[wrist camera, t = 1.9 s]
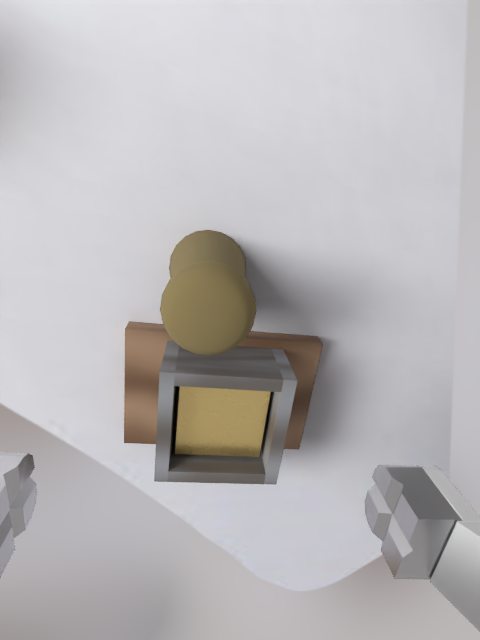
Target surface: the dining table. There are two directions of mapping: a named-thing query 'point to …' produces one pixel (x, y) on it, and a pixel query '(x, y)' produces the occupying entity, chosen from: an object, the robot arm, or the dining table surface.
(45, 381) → the dining table surface
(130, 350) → the holder
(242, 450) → the spring seat
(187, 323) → the tan rounded piece
